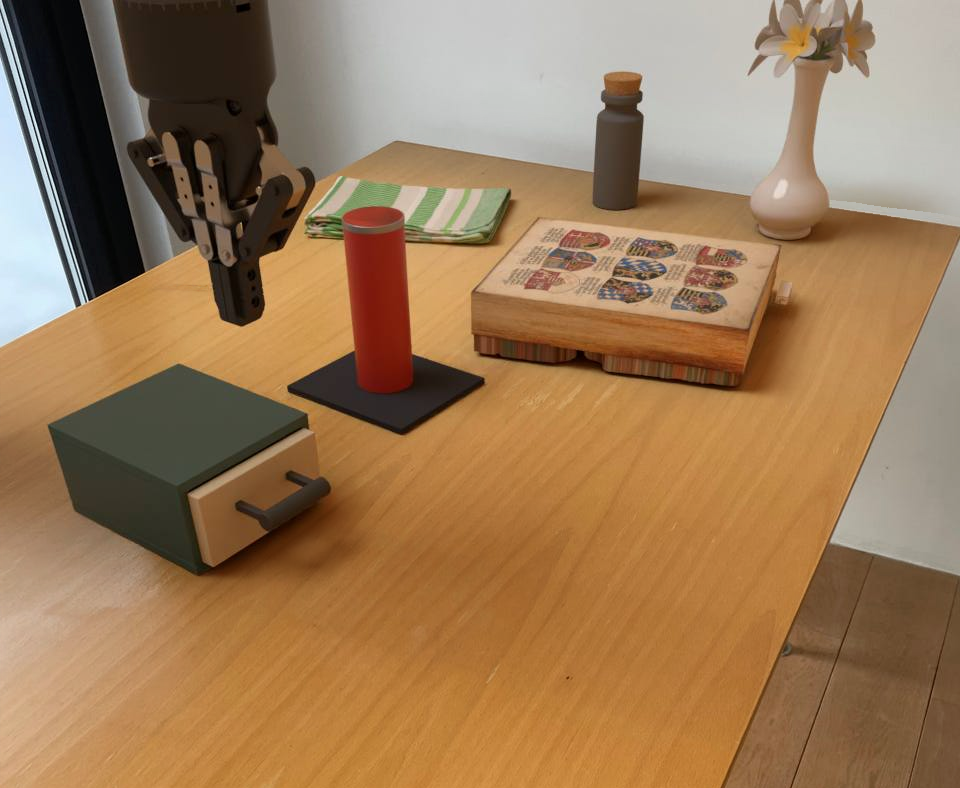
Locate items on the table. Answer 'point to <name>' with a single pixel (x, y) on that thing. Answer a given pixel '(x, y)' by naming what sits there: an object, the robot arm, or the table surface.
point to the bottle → (618, 142)
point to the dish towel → (414, 210)
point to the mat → (391, 410)
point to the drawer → (256, 496)
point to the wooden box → (628, 300)
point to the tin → (379, 297)
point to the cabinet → (163, 453)
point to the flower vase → (804, 106)
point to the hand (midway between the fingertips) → (243, 319)
